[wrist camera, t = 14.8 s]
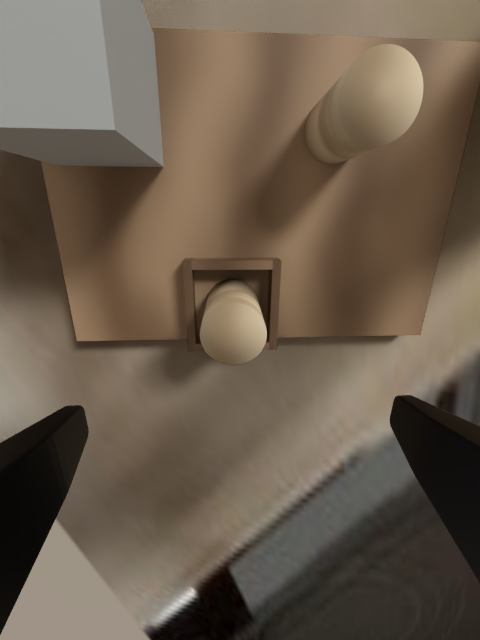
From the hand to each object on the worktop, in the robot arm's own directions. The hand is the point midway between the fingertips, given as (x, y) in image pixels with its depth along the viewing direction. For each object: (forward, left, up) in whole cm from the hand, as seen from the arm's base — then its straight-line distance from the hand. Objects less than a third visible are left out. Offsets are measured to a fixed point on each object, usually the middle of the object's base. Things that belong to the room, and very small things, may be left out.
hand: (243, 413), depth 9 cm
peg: (-6, -10, -11) cm, 16 cm away
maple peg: (0, 0, -11) cm, 11 cm away
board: (-2, -6, -12) cm, 14 cm away
